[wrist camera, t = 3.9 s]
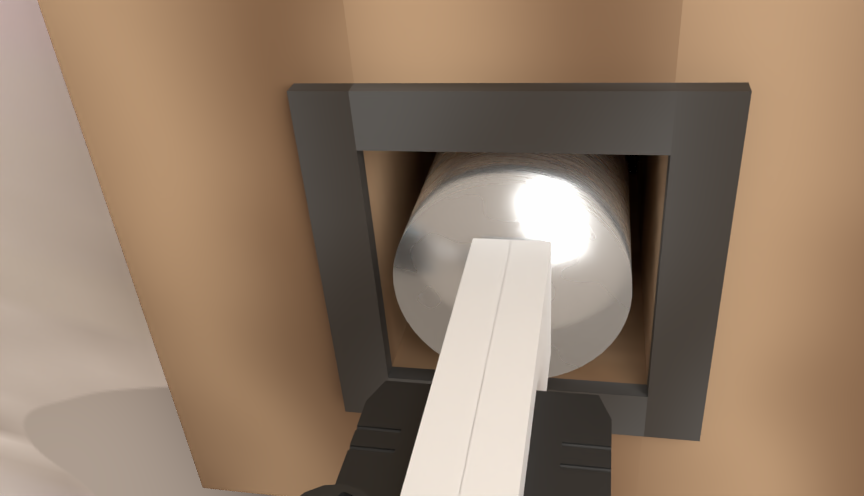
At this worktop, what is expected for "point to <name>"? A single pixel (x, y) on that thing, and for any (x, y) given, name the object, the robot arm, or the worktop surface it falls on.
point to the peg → (524, 220)
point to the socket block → (492, 133)
